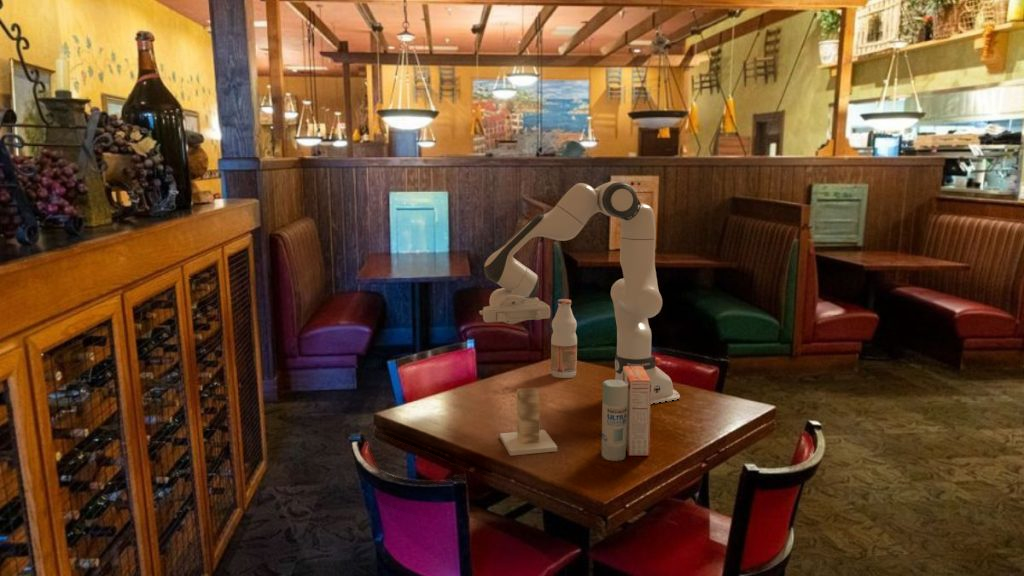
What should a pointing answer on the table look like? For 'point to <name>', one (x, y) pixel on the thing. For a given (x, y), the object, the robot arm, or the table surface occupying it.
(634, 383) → the cracker box
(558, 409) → the table surface
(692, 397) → the table surface
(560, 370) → the fruit juice
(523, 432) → the beech block
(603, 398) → the spray paint can
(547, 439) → the board
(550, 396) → the table surface
